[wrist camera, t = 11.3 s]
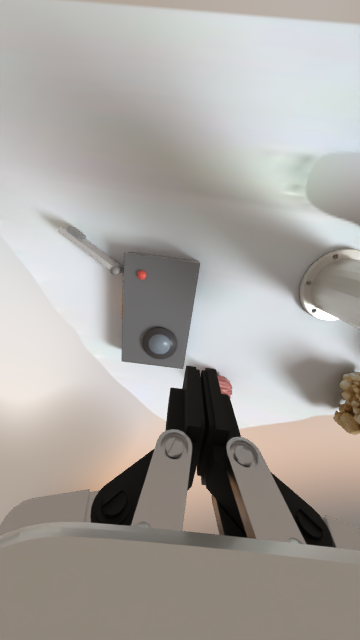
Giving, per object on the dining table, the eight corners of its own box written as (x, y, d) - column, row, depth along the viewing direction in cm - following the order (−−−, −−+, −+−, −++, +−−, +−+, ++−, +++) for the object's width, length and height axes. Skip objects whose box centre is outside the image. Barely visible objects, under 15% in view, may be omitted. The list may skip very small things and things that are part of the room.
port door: (122, 273, 36) (115, 276, 32) (70, 233, 34) (56, 232, 30) (127, 266, 35) (120, 268, 32) (74, 225, 33) (61, 223, 30)
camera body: (198, 261, 35) (200, 263, 31) (183, 358, 42) (183, 370, 38) (128, 251, 35) (121, 252, 30) (125, 351, 42) (119, 362, 38)
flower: (246, 387, 37) (225, 405, 35) (238, 404, 43) (220, 421, 41) (216, 359, 42) (196, 374, 40) (213, 378, 48) (195, 392, 45)
